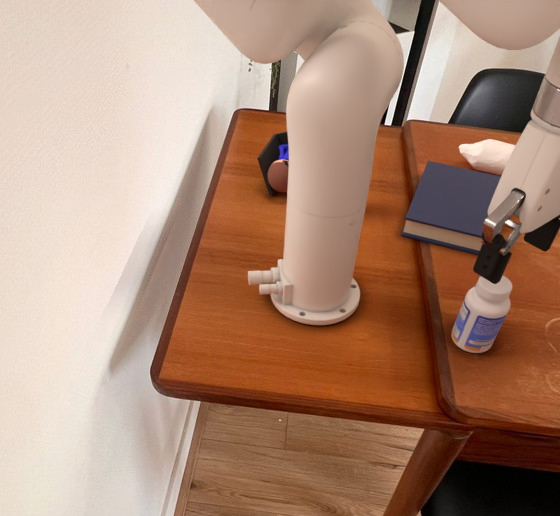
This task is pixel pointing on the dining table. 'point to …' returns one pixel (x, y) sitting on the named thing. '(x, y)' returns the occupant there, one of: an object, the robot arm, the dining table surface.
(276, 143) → the character figurine
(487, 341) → the pill bottle
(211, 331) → the dining table surface
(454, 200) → the book
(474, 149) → the roll
